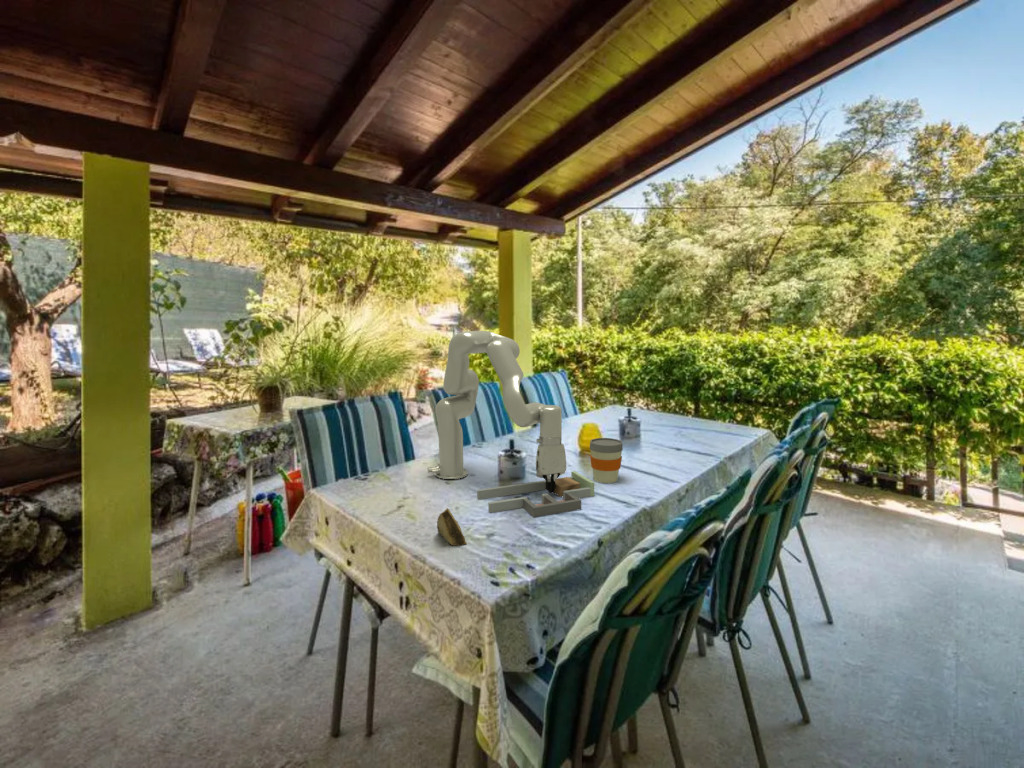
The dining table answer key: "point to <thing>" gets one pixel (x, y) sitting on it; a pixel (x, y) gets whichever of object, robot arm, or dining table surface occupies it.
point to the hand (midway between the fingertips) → (550, 491)
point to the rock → (450, 528)
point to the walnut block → (565, 485)
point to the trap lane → (549, 502)
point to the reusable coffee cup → (606, 459)
